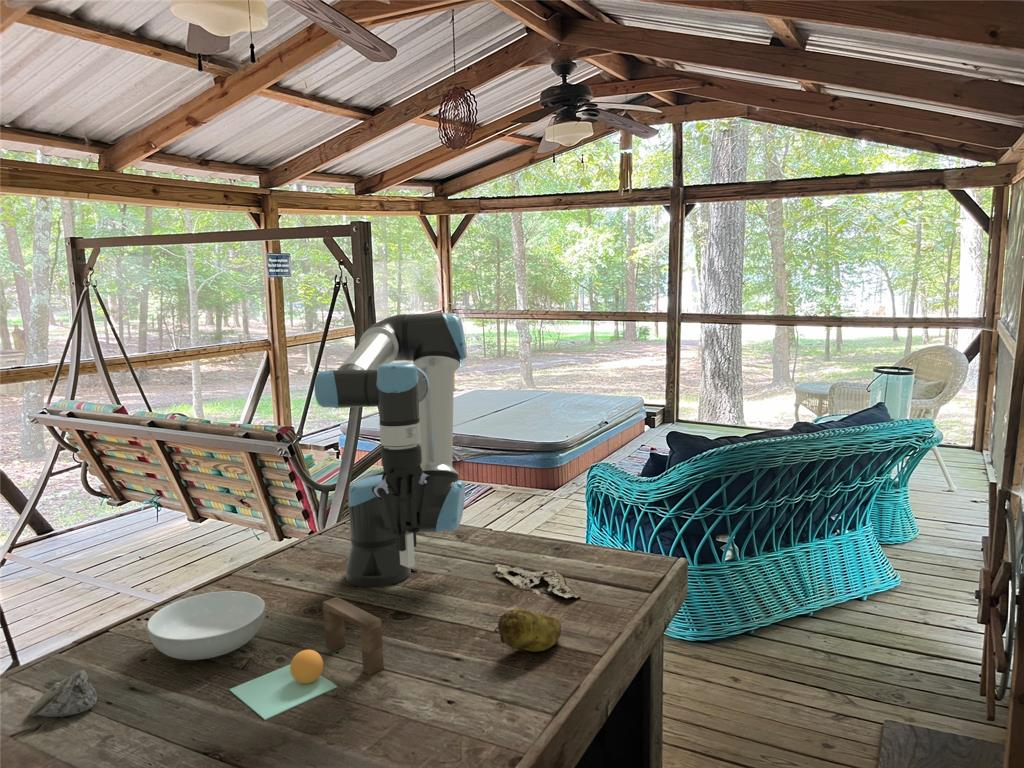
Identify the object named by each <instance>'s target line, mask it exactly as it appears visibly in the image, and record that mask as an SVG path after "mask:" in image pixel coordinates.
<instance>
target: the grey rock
mask: <svg viewBox="0 0 1024 768" xmlns="http://www.w3.org/2000/svg"><path fill="white" fill-rule="evenodd" d="M97 700H98V694H97V690H96V688H95V687H94V686H93V685H92V682H90V681H89V676H88V673H87V671H85V670H84V669H79V670H77V671H76V672H73V674H72V675H69V676H68V677H66V678H64V679H62V680H61V681H58V682H57V681H56V682H55V683H54V684H53V685H52V686H51V687H50V688H49V689H48V690H47V691H46V692H45V693H44V694H43V695H42V696H41V697H40V698H39V699H38V700H37V702H36V703H35V704H34V705H33V706H32V707H31V709H30V711H29V713H28V716H30V718H33V717H35V716H43V717H48V718H62V717H68V716H74V715H77V714H78V715H79V713H84V712H86V711H88V710H90V709H91V708H93V707H94V706H95V705H96V704H97Z"/></svg>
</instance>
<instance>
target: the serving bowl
mask: <svg viewBox="0 0 1024 768" xmlns="http://www.w3.org/2000/svg"><path fill="white" fill-rule="evenodd" d="M265 613H266V604H265V601H264V600H263V598H261V597H260V596H258V595H257V594H254V593H251V592H248V591H247V592H246V591H238V590H226V591H225V590H223V591H222V590H221V591H211V592H207V593H202V594H195V595H192V596H188V597H185V598H182V599H179V600H177V601H174V602H172V603H170V604H168V605H165V606H163V607H162V608H160V609H158V611H156V612H155V613H154V614H152V615H151V616H150V618H149V620H148V621H147V624H146V628H147V633H148V636H149V639H150V641H151V643H152V645H154V647H155V649H157V650H158V651H159V652H161V653H162V654H163V655H166V656H167V657H171V658H174V659H177V660H183V661H184V660H186V661H198V660H205V659H207V660H208V659H211V658H216V657H220V656H223V655H227V654H228V653H231V652H233V651H236V650H237V649H239V648H241V647H243V646H244V645H246V644H247V643H248V642H249V641H251V640H252V639H253V638H254V637H255V636H256V634H258V632H259V630H260V628H261V627H262V625H263V623H264V619H265Z"/></svg>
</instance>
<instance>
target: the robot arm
mask: <svg viewBox="0 0 1024 768" xmlns="http://www.w3.org/2000/svg"><path fill="white" fill-rule="evenodd" d="M464 332H465V331H464V326H463V322H462V318H461V317H460V315H459V314H458V313H455V312H454V313H452V312H436V313H435V312H434V313H412V314H411V313H409V314H407V313H405V314H404V313H401V314H396V315H392V316H388V317H386V318H384V319H381V320H379V321H378V322H376V323H374V324H372V325H371V326H370V327H369V328H367V329H366V330H365V331H364V332H363V333H362V335H361V337H360V339H359V344H358V346H356V348H355V349H353V351H352V353H351V354H349V355H348V357H347V358H346V359H345V360H344V361H343V362H342V364H341V365H339V367H338V369H337V370H336V369H329V370H322V371H320V372H317V375H316V377H315V380H314V395H315V396H314V397H315V400H316V403H317V404H318V406H320V407H321V408H333V409H334V408H335V409H343V408H346V409H347V408H365V407H366V408H369V407H373V408H375V407H378V417H379V418H378V419H379V442H380V445H381V446H382V448H381V449H380V455H381V465H382V469H383V473H382V474H378V475H373V476H367V477H366V478H363V479H359V480H357V481H356V482H354V483H352V485H351V486H350V487H349V488H348V503H347V506H348V514H349V517H348V518H349V529H350V530H349V531H350V540H351V541H350V543H351V545H350V550H349V554H348V558H347V563H346V565H345V571H344V572H345V580H346V582H347V583H349V584H350V585H353V586H357V587H361V588H362V587H363V588H378V587H384V586H391V585H394V584H398V583H400V582H402V581H404V580H405V579H407V578H408V577H409V576H410V575H411V573H412V572H411V571H412V570H411V569H412V568H413V567H416V562H415V561H416V560H415V548H416V547H417V533H437V534H440V533H443V532H444V533H445V532H447V533H448V532H453V531H456V530H457V529H459V527H460V525H461V521H462V519H463V515H464V509H465V508H464V507H465V498H466V485H465V482H464V481H463V480H461V479H460V478H459V477H460V475H459V472H458V471H457V470H456V469H455V468H454V467H453V453H454V452H453V450H454V449H453V448H454V447H453V444H454V442H453V440H454V439H453V436H454V390H455V389H454V388H455V387H454V384H455V383H454V382H455V380H454V378H455V372H456V371H458V370H459V369H460V367H461V361H464V360H466V358H467V346H466V337H465V333H464ZM394 361H395V362H394ZM396 361H397V362H396ZM399 361H401V362H399ZM403 361H412V362H403Z"/></svg>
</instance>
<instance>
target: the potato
mask: <svg viewBox="0 0 1024 768" xmlns="http://www.w3.org/2000/svg"><path fill="white" fill-rule="evenodd" d="M497 629H498V633H499V637H500V642H501V643H502V644H506V646H508V647H509V648H511V649H513V650H520V651H522V650H523V651H528V652H531V653H533V652H534V653H538V652H543V651H547V650H548V649H550V648H553V646H554V645H555V644H556V643H557V642H558V641H559V639H560V637H561V634H562V633H561V632H562V625H561V622H560V620H559V619H558V618H556V617H554V616H552V615H549V614H547V613H546V614H545V613H540V612H533V611H530V610H528V609H525V608H515V609H511V610H509V611H507V612H504V613H503V614H502V615H500V618H499V619H498V622H497Z"/></svg>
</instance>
